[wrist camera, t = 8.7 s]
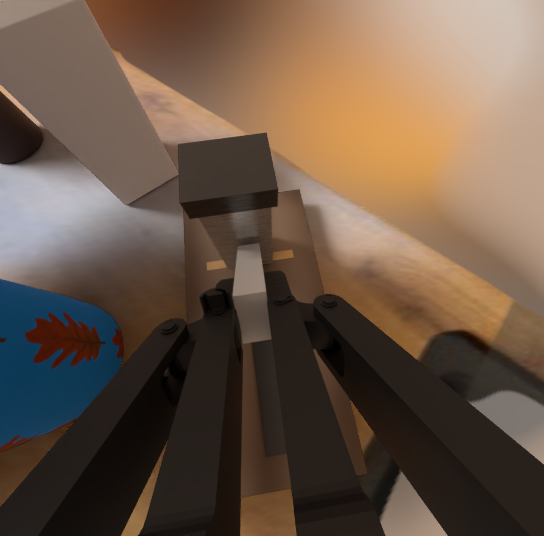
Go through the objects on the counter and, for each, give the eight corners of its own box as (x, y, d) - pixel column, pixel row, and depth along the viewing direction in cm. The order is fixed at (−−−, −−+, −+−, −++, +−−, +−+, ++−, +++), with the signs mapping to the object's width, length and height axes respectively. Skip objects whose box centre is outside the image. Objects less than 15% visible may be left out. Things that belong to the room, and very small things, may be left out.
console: (204, 486, 18) (192, 508, 15) (191, 219, 26) (182, 205, 23) (355, 457, 18) (368, 474, 16) (297, 203, 26) (299, 188, 24)
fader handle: (225, 273, 20) (179, 203, 11) (222, 237, 22) (177, 144, 12) (276, 265, 21) (277, 189, 11) (270, 230, 22) (266, 132, 12)
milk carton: (180, 175, 28) (11, -136, 10) (126, 206, 27) (-180, -90, 9) (151, 140, 30) (-33, -172, 12) (100, 168, 29) (-194, -139, 11)
